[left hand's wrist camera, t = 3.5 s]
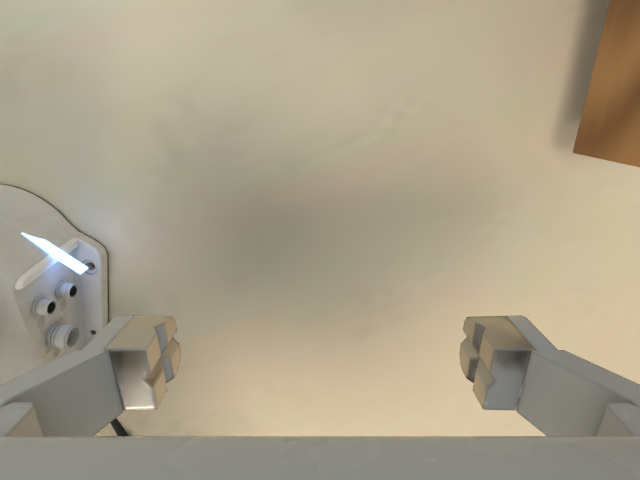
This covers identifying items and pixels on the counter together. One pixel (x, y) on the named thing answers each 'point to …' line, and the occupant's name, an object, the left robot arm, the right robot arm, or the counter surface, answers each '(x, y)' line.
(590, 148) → the bar
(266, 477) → the left robot arm
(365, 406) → the counter surface
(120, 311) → the counter surface
